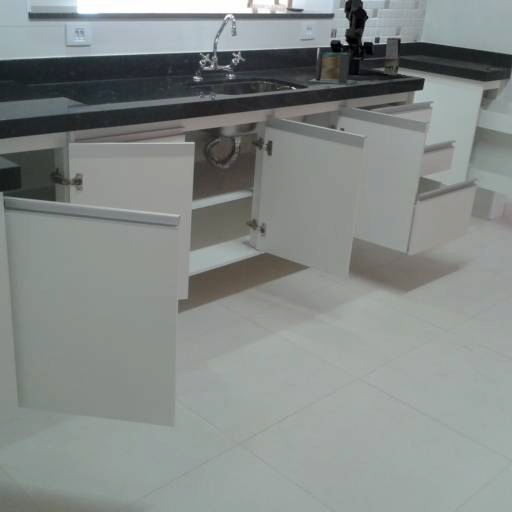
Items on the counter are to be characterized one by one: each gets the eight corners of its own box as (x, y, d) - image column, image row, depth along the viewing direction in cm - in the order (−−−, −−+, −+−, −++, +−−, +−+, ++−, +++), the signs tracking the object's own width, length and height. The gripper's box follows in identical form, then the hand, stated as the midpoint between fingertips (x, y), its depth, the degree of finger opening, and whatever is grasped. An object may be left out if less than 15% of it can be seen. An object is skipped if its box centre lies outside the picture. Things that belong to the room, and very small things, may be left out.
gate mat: (309, 81, 306) (309, 80, 306) (317, 78, 315) (317, 77, 315) (349, 85, 299) (349, 83, 299) (356, 81, 309) (356, 80, 309)
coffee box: (397, 75, 332) (401, 39, 326) (383, 74, 333) (386, 38, 327) (398, 73, 340) (401, 37, 334) (384, 72, 341) (387, 37, 335)
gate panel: (321, 79, 307) (323, 52, 302) (321, 79, 308) (322, 52, 304) (348, 79, 308) (349, 53, 304) (347, 79, 309) (349, 53, 305)
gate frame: (314, 81, 307) (316, 47, 301) (317, 81, 309) (318, 47, 303) (344, 84, 300) (347, 50, 295) (347, 84, 302) (349, 49, 297)
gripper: (332, 20, 310) (323, 48, 305) (374, 22, 304) (366, 51, 298) (336, 38, 320) (327, 65, 314) (377, 40, 313) (369, 68, 308)
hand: (347, 62), depth 308 cm, fingers closed
